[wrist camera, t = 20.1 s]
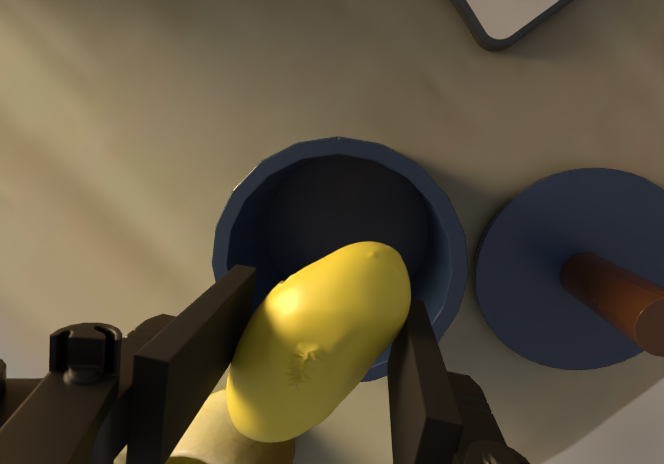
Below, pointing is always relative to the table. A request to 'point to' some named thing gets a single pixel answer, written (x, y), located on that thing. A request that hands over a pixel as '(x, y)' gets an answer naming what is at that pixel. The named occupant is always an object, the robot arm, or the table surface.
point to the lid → (576, 269)
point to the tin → (344, 222)
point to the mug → (222, 441)
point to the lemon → (316, 340)
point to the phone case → (504, 19)
